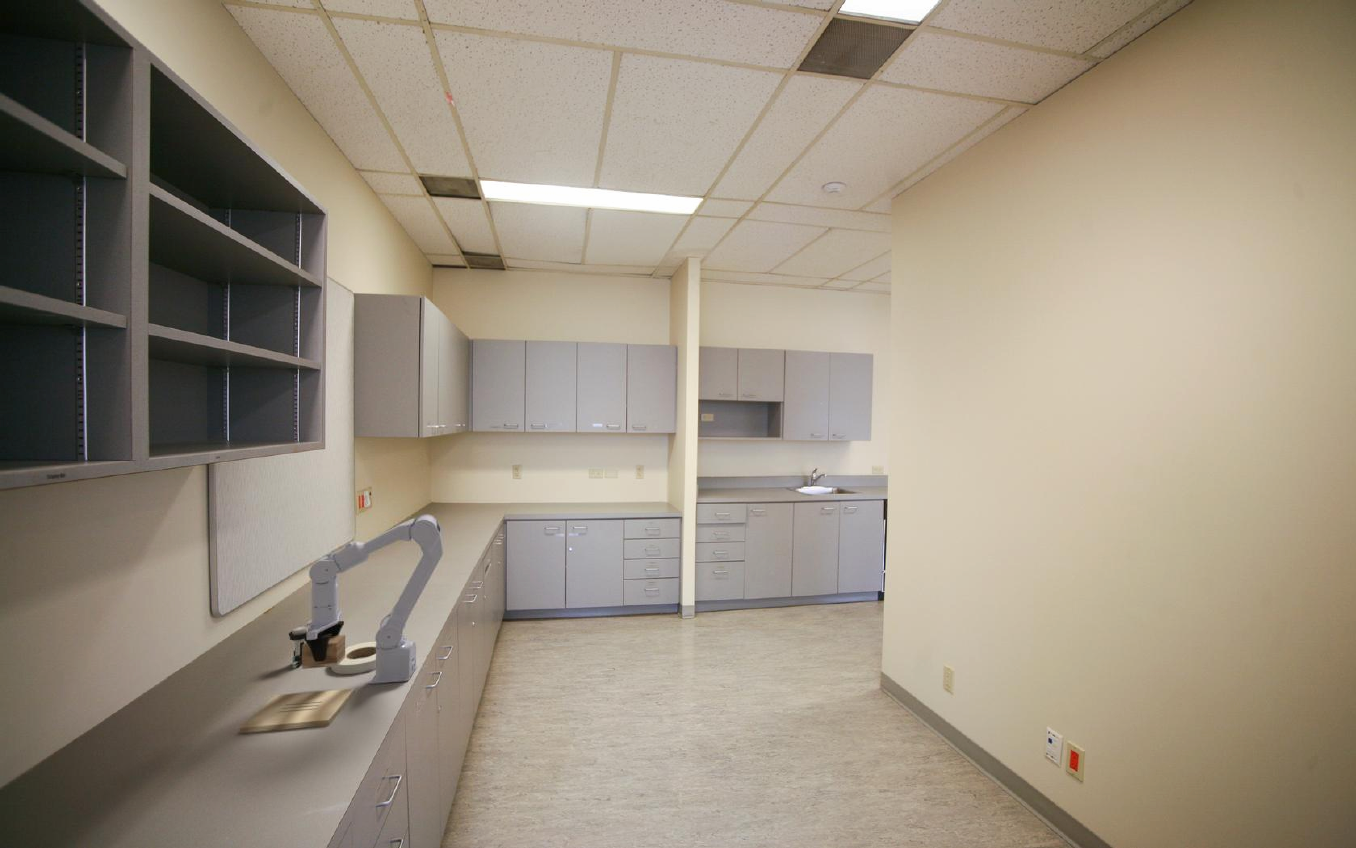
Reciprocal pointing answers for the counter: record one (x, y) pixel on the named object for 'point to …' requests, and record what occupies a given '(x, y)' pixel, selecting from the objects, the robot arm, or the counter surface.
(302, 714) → the board
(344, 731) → the counter surface
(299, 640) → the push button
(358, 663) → the roll of tape
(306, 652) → the block
